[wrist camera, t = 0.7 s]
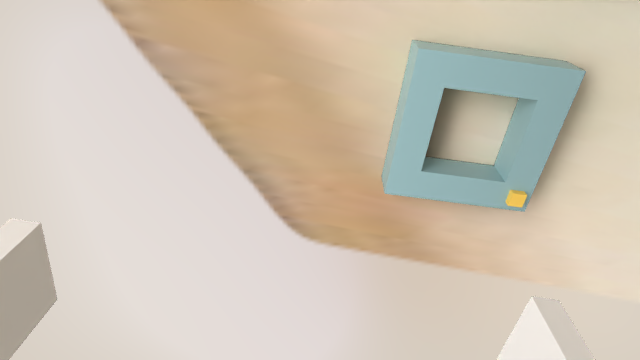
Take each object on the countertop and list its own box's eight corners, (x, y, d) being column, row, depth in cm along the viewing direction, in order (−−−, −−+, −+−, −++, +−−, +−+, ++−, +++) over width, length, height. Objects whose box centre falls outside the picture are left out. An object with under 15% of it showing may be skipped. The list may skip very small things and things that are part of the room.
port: (412, 39, 32) (420, 50, 29) (566, 61, 32) (590, 73, 29) (381, 176, 38) (385, 197, 35) (511, 193, 38) (527, 215, 35)
